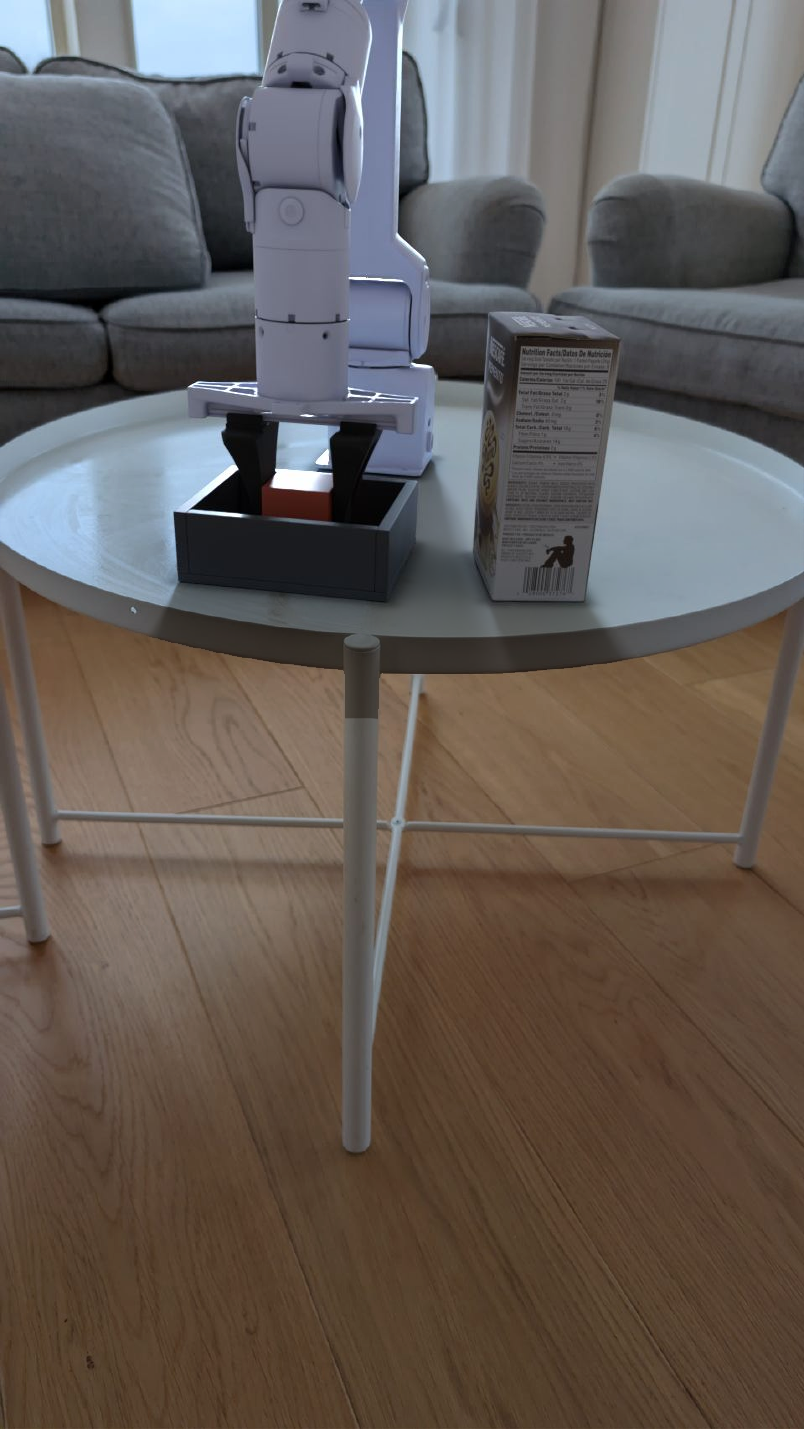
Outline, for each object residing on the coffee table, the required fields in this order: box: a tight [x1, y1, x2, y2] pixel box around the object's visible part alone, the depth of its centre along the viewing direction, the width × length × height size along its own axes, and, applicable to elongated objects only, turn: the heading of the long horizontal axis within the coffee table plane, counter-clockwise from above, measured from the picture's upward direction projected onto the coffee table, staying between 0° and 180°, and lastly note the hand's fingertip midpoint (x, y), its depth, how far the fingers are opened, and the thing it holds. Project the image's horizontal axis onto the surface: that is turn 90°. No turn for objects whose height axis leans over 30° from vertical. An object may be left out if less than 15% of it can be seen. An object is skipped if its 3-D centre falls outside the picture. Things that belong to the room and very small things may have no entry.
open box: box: [172, 464, 419, 603], centre depth 69 cm, size 14×12×5 cm
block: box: [262, 469, 333, 522], centre depth 68 cm, size 4×4×5 cm
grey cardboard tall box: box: [472, 311, 623, 602], centre depth 65 cm, size 9×6×16 cm
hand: (303, 533), depth 69 cm, fingers closed on block, 4 cm apart
